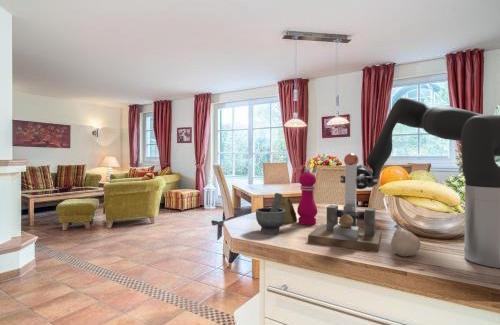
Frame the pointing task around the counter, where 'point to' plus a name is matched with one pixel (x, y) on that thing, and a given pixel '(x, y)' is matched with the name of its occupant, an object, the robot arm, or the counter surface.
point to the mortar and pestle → (271, 216)
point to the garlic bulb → (405, 242)
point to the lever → (351, 189)
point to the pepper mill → (307, 199)
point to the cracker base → (343, 243)
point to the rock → (288, 210)
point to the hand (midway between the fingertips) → (355, 181)
